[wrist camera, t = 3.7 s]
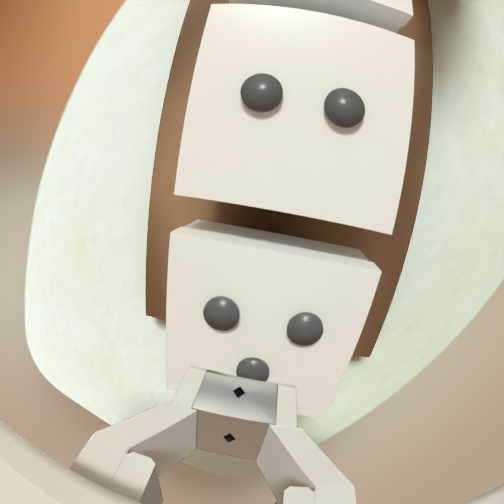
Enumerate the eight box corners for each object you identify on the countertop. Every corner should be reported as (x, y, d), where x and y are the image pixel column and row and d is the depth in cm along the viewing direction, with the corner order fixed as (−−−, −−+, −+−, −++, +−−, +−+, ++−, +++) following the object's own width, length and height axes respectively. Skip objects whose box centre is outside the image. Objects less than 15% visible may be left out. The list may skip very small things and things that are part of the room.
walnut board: (419, 3, 9) (439, -20, 6) (365, 345, 15) (377, 379, 12) (210, -33, 10) (197, -61, 7) (154, 305, 16) (129, 332, 13)
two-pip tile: (389, 65, 9) (416, 38, 6) (367, 219, 11) (394, 236, 8) (227, 36, 9) (210, 1, 6) (200, 188, 11) (171, 195, 8)
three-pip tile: (360, 248, 11) (383, 273, 8) (319, 377, 13) (323, 420, 10) (196, 217, 11) (167, 233, 8) (186, 352, 13) (165, 390, 10)
